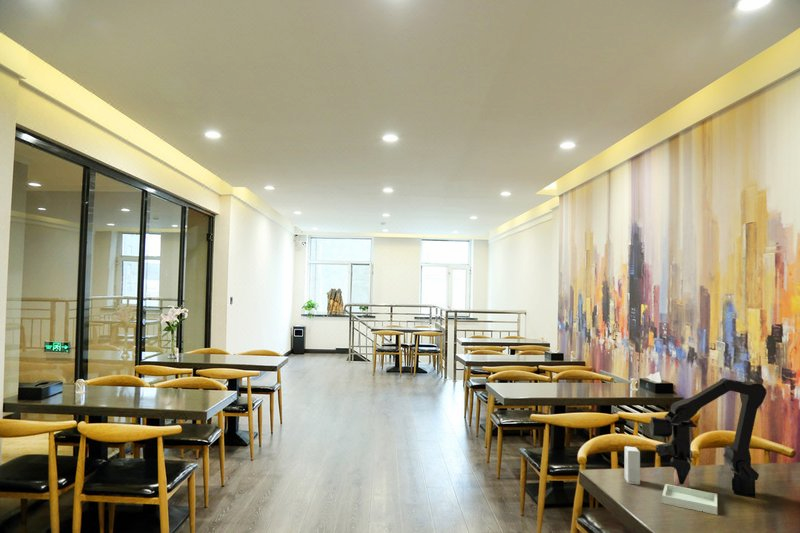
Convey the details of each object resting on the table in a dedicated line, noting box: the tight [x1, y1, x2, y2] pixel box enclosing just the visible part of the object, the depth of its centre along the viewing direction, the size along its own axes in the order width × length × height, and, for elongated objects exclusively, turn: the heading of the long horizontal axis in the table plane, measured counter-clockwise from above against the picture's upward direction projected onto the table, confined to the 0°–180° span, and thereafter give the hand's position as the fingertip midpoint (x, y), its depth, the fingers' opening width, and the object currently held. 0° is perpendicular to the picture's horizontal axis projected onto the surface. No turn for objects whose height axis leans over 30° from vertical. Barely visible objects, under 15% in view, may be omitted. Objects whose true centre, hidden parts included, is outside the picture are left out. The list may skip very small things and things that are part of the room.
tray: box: [661, 483, 718, 515], centre depth 169 cm, size 16×13×2 cm
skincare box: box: [623, 445, 641, 486], centre depth 187 cm, size 6×4×12 cm
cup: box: [673, 467, 691, 489], centre depth 182 cm, size 5×5×7 cm
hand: (681, 481), depth 182 cm, fingers closed on cup, 5 cm apart
